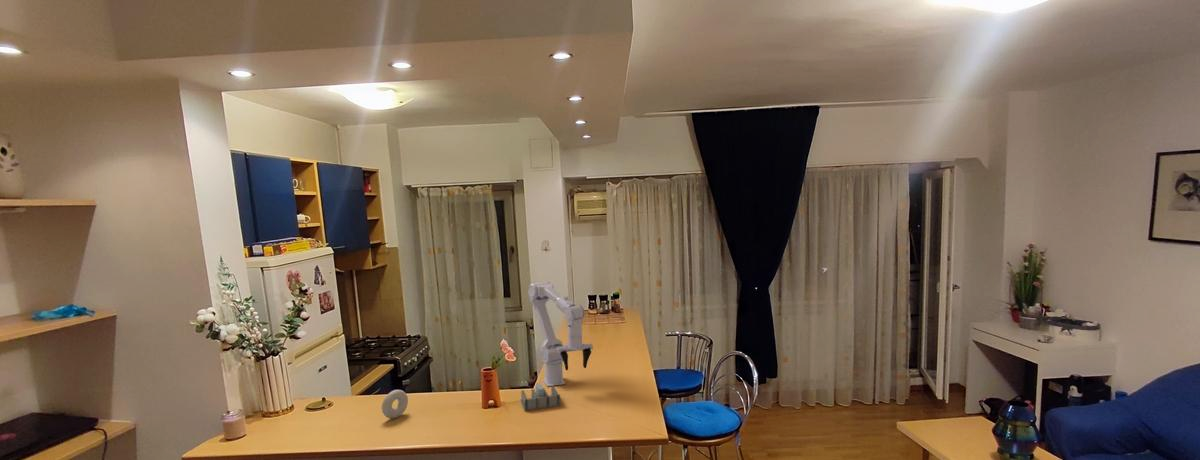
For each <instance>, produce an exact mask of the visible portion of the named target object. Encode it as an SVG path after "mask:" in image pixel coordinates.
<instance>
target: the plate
mask: <svg viewBox="0 0 1200 460" xmlns="http://www.w3.org/2000/svg"><path fill="white" fill-rule="evenodd" d="M543 388H544V387H543V386H542V384H541V382H537V383H535V392H536V394H537V396H538V397H544V389H545V388H544V389H543Z"/></svg>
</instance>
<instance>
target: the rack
mask: <svg viewBox="0 0 1200 460" xmlns="http://www.w3.org/2000/svg"><path fill="white" fill-rule="evenodd" d="M550 387H551V390H550V391H551V394H550V395H548V392H547V391H546V389H545V387H543V389H544V397H538V396H537V394H536V389H534V388H531V390H530V391H531V395H530V396H531V397H527V394H526V392H525V390H521V391H520V394H521V395H520V397H521V399H520V403H521V405H522V408H523V411H524V412H527V411H529V412H530V411H534V410H543V409H549V408H556V407H561V394H559V392H558V390H557V389H556V388H555V386H550Z"/></svg>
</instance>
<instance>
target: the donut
mask: <svg viewBox="0 0 1200 460" xmlns="http://www.w3.org/2000/svg"><path fill="white" fill-rule="evenodd" d="M396 400H397V401H398V403H397V405H396V406H395V408H393V403H394V402H395V401H396ZM408 404H409V399H408V394H407V393H406V392H405V391H404V390H402V389H393V390H391V391H390V392H389V393H388V394H386V396H385V397H384V399H383V401H382V403H381V412H382V414H383V416H384V417H385V418H388V419H391V420H392V419H397V418H398V417H400V416H402V415H403V414H404V413H405V411H406V410H407V407H408Z"/></svg>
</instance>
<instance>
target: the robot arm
mask: <svg viewBox="0 0 1200 460" xmlns="http://www.w3.org/2000/svg"><path fill="white" fill-rule="evenodd" d="M527 294H528V297H529V300H530V303H531V305H532V306H533V310H534V313H535V316H536V318H537V322H538V326H539V329H540V333H541V336H542V338H543V343H542V344H541V346H540V349H539V350H540V353H541V355H540V357H541V360H542V362H543V363H544V364H545V365H544V378H542V380H543V382H544V383H545V386H546V387H552V386H554V387H555V386H562V385H566V381H565V380H564V375H563V373H564V372H563V365H564V368H565V370H566V371H568V370H569V359H568V358H569V354H568V352H569V353H570V352H577V351H579V352H580V351H582V361H583V362H582V367H583V368H584V369H586V368H587V365H588V360H589V359H590V357H591V354H592V350H594V344H593V343H583V320H582V319H584V317H585V315H586V313H585V312H586V310H585V308H584V307H583V306H582V305H581V304H575V303H574V302H573V301H572V300H570V299H569V297H568V296H565V295H564V296H562V295H561V294H560V293H559V292H558V291H557V290H556V289H555V288H554V284H553V283H552V282H551V281H544V282H536V283H530V284H529V286H528V290H527ZM550 300H551V301H552V302H554V303H555V305H556V308H557V309H558V310H560V311H561V312H562V313H563V315H564V318H565V321H566V325H567V345H563V341H562V340H560V339H559V338H557V337H556V335H555V330H554V327H553V324H552V322H551V319H550V316H549V312H548V309H547V306H546V305H547V303H548V302H549V301H550Z"/></svg>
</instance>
